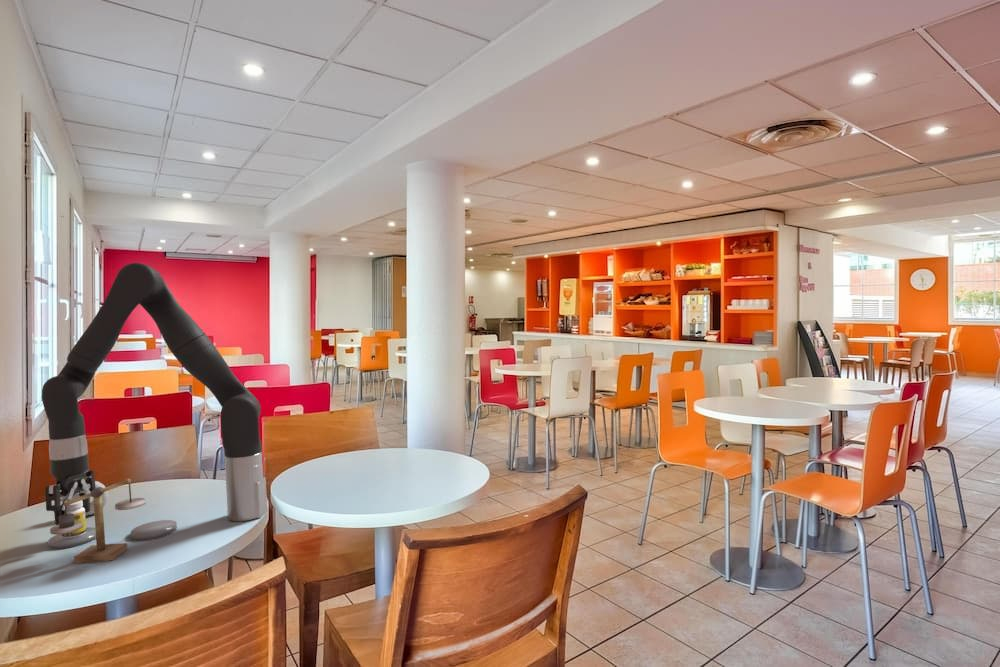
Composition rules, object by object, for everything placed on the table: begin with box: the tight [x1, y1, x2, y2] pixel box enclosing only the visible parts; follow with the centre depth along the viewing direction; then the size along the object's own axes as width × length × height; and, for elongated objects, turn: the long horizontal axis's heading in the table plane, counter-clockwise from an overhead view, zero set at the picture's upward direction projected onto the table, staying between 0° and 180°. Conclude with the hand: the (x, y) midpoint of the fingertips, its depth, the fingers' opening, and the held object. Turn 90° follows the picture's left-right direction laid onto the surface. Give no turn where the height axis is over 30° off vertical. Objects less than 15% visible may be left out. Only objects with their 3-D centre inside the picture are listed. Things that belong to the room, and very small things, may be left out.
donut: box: [71, 480, 109, 517], centre depth 153 cm, size 10×4×10 cm, turn 120°
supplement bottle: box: [62, 500, 87, 539], centre depth 136 cm, size 5×5×8 cm
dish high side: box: [130, 519, 178, 541], centre depth 140 cm, size 10×10×1 cm
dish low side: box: [47, 527, 96, 550], centre depth 136 cm, size 10×10×1 cm
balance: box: [49, 478, 147, 564], centre depth 126 cm, size 20×6×18 cm, turn 95°
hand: (73, 518), depth 136 cm, fingers open, 8 cm apart
